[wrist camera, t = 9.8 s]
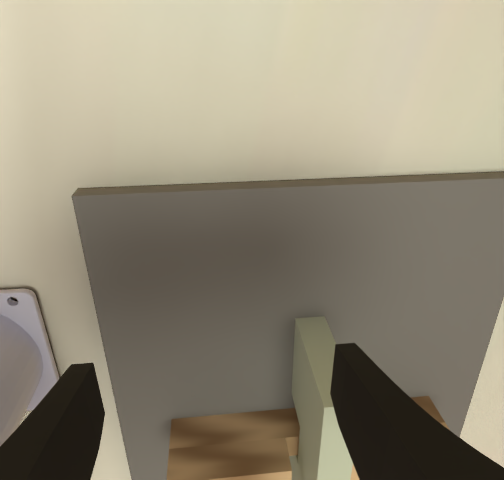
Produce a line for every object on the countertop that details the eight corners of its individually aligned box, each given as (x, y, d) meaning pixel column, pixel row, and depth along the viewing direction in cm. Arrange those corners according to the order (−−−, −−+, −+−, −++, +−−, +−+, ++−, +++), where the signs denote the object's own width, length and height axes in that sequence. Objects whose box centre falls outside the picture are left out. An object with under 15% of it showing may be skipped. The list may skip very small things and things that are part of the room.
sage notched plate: (309, 481, 29) (334, 583, 23) (287, 483, 29) (306, 586, 23) (324, 316, 22) (362, 404, 17) (295, 318, 22) (324, 407, 17)
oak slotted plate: (173, 437, 25) (169, 503, 22) (171, 418, 25) (166, 484, 21) (424, 413, 27) (457, 472, 23) (428, 395, 26) (464, 452, 23)
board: (140, 499, 29) (139, 513, 28) (78, 188, 19) (71, 196, 18) (438, 467, 31) (445, 480, 30) (527, 170, 21) (541, 176, 20)
